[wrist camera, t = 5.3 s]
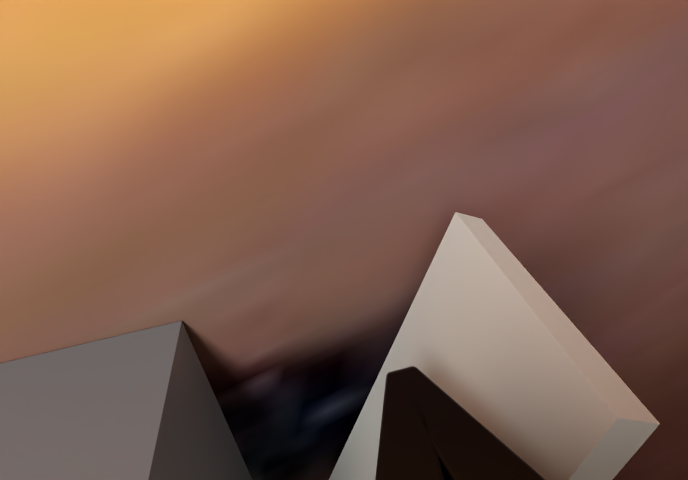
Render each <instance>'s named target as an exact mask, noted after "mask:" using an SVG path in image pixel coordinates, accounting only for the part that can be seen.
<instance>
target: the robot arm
mask: <svg viewBox="0 0 688 480" xmlns="http://www.w3.org/2000/svg"><path fill="white" fill-rule="evenodd" d="M375 480H546V479H544V478H543V477H542V476H541V475H540V474H539V473H538V472H536V471H535V470H534V469H533V468H532V467H531V466H529V465H528V464H527V463H526V462H525V461H524V460H523V459H521V458H520V457H519V456H518V455H517V454H516V453H515V452H513V451H512V450H511V449H510V448H509V447H508V446H506V445H505V444H504V443H503V442H502V441H501V440H500V439H498V438H497V437H496V436H495V435H494V434H493V433H492V432H490V431H489V430H488V429H487V428H486V427H485V426H483V425H482V424H481V423H480V422H479V421H478V420H477V419H475V418H474V417H473V416H472V415H471V414H470V413H469V412H467V411H466V410H465V409H464V408H463V407H462V406H460V405H459V404H458V403H457V402H456V401H455V400H454V399H452V398H451V397H450V396H449V395H448V394H447V393H446V392H444V391H443V390H442V389H441V388H440V387H439V386H437V385H436V384H435V383H434V382H433V381H432V380H431V379H429V378H428V377H427V376H426V375H425V374H424V373H423V372H421V371H420V370H419V369H418V368H417V367H414V366H410V367H407V368H403V369H399V370H395V371H391V372H388V373H387V375H386V382H385V392H384V401H383V411H382V420H381V430H380V440H379V449H378V459H377V468H376V478H375Z"/></svg>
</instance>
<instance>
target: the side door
mask: <svg viewBox="0 0 688 480" xmlns="http://www.w3.org/2000/svg"><path fill="white" fill-rule="evenodd" d="M410 366H414V367H417V368H418V369H419V370H420V371H421V372H423V373H424V374H425V375H426V376H427V377H428V378H429V379H431V380H432V381H433V382H434V383H435V384H436V385H437V386H439V387H440V388H441V389H442V390H443V391H444V392H446V393H447V394H448V395H449V396H450V397H451V398H452V399H454V400H455V401H456V402H457V403H458V404H459V405H460V406H462V407H463V408H464V409H465V410H466V411H467V412H469V413H470V414H471V415H472V416H473V417H474V418H475V419H477V420H478V421H479V422H480V423H481V424H482V425H483V426H485V427H486V428H487V429H488V430H489V431H490V432H492V433H493V434H494V435H495V436H496V437H497V438H498V439H500V440H501V441H502V442H503V443H504V444H505V445H506V446H508V447H509V448H510V449H511V450H512V451H513V452H515V453H516V454H517V455H518V456H519V457H520V458H521V459H523V460H524V461H525V462H526V463H527V464H528V465H529V466H531V467H532V468H533V469H534V470H535V471H536V472H538V473H539V474H540V475H541V476H542V477H543V478H544V479H546V480H613V479H614V477H615V476H616V475H617V474H618V473H619V472H620V470H621V469H622V468H623V467H624V466H625V464H626V463H627V462H628V461H629V460H630V459H631V457H632V456H633V455H634V454H635V453H636V452H637V450H638V449H639V448H640V447H641V446H642V445H643V443H644V442H645V441H646V440H647V439H648V437H649V436H650V435H651V434H652V433H653V432H654V430H655V429H656V428H657V427H658V426H659V425H660V423H659V422H658V421H657V420H656V419H655V418H654V416H653V415H652V414H651V413H650V412H649V411H648V409H647V408H646V407H645V406H644V405H643V404H642V403H641V401H640V400H639V399H638V398H637V397H636V396H635V394H634V393H633V392H632V391H631V390H630V389H629V388H628V386H627V385H626V384H625V383H624V382H623V381H622V380H621V378H620V377H619V376H618V375H617V374H616V373H615V371H614V370H613V369H612V368H611V367H610V366H609V365H608V363H607V362H606V361H605V360H604V359H603V358H602V356H601V355H600V354H599V353H598V352H597V351H596V350H595V348H594V347H593V346H592V345H591V344H590V343H589V342H588V340H587V339H586V338H585V337H584V336H583V335H582V333H581V332H580V331H579V330H578V329H577V328H576V327H575V325H574V324H573V323H572V322H571V321H570V320H569V318H568V317H567V316H566V315H565V314H564V313H563V312H562V310H561V309H560V308H559V307H558V306H557V305H556V304H555V302H554V301H553V300H552V299H551V298H550V297H549V295H548V294H547V293H546V292H545V291H544V290H543V289H542V287H541V286H540V285H539V284H538V283H537V282H536V281H535V279H534V278H533V277H532V276H531V275H530V274H529V272H528V271H527V270H526V269H525V268H524V267H523V266H522V264H521V263H520V262H519V261H518V260H517V259H516V257H515V256H514V255H513V254H512V253H511V252H510V251H509V249H508V248H507V247H506V246H505V245H504V244H503V243H502V241H501V240H500V239H499V238H498V237H497V236H496V234H495V233H494V232H493V231H492V230H491V229H490V228H489V226H488V225H487V224H486V223H485V222H484V221H483V219H481V218H477V217H473V216H469V215H465V214H461V213H457V212H455V214H454V216H453V218H452V220H451V222H450V225H449V227H448V229H447V231H446V233H445V235H444V237H443V239H442V241H441V244H440V246H439V248H438V250H437V252H436V254H435V256H434V258H433V261H432V263H431V265H430V267H429V269H428V271H427V273H426V275H425V277H424V280H423V282H422V284H421V286H420V288H419V290H418V292H417V294H416V296H415V299H414V301H413V303H412V305H411V307H410V309H409V311H408V313H407V315H406V318H405V320H404V322H403V324H402V326H401V328H400V330H399V332H398V334H397V337H396V339H395V341H394V343H393V345H392V347H391V349H390V351H389V354H388V356H387V358H386V360H385V362H384V364H383V366H382V368H381V370H380V373H379V375H378V377H377V379H376V381H375V383H374V385H373V387H372V389H371V392H370V394H369V396H368V398H367V400H366V402H365V404H364V406H363V408H362V411H361V413H360V415H359V417H358V419H357V421H356V423H355V425H354V427H353V430H352V432H351V434H350V436H349V438H348V440H347V442H346V444H345V446H344V449H343V451H342V453H341V455H340V457H339V459H338V461H337V463H336V466H335V468H334V470H333V472H332V474H331V476H330V478H329V480H375V478H376V468H377V459H378V449H379V440H380V430H381V420H382V411H383V401H384V392H385V382H386V375H387V373H388V372H391V371H395V370H399V369H403V368H407V367H410Z"/></svg>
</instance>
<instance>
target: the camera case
mask: <svg viewBox="0 0 688 480" xmlns="http://www.w3.org/2000/svg"><path fill="white" fill-rule="evenodd" d="M0 480H252V478H251V475H250V473H249V471H248V469H247V466H246V464H245V462H244V460H243V457H242V455H241V453H240V451H239V449H238V446H237V444H236V442H235V440H234V437H233V435H232V433H231V431H230V428H229V426H228V424H227V422H226V419H225V417H224V415H223V413H222V410H221V408H220V406H219V404H218V401H217V399H216V397H215V395H214V392H213V390H212V388H211V386H210V383H209V381H208V379H207V377H206V374H205V372H204V370H203V368H202V365H201V363H200V361H199V359H198V356H197V354H196V352H195V350H194V348H193V345H192V343H191V341H190V339H189V336H188V334H187V332H186V330H185V327H184V325H183V323H182V321H179V322H175V323H171V324H167V325H162V326H158V327H154V328H149V329H145V330H141V331H137V332H132V333H128V334H124V335H120V336H115V337H111V338H107V339H103V340H98V341H94V342H90V343H86V344H81V345H77V346H73V347H69V348H64V349H60V350H56V351H52V352H47V353H43V354H39V355H35V356H30V357H26V358H22V359H18V360H13V361H9V362H5V363H1V364H0Z"/></svg>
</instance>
